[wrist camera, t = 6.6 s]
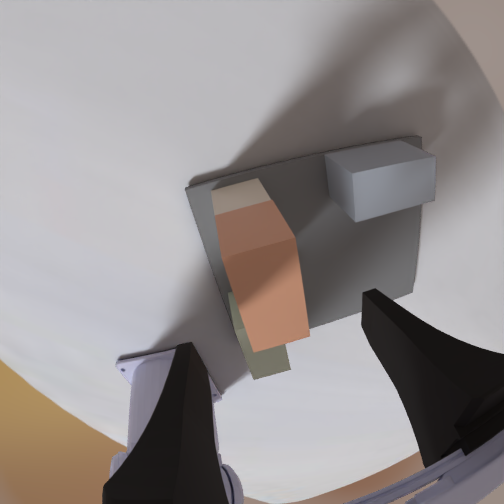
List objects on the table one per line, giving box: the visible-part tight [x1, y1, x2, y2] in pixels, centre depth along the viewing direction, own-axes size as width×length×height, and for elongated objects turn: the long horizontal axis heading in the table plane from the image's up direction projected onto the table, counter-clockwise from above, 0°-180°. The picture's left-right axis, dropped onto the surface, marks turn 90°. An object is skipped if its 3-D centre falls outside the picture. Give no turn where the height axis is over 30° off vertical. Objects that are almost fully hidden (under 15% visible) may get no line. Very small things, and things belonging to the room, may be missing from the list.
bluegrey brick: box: [324, 140, 436, 222], centre depth 18 cm, size 6×3×4 cm, turn 102°
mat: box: [185, 136, 422, 329], centre depth 23 cm, size 15×17×1 cm
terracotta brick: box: [215, 200, 310, 352], centre depth 16 cm, size 6×3×4 cm, turn 12°
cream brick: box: [211, 178, 271, 215], centre depth 19 cm, size 6×3×4 cm, turn 12°
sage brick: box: [228, 291, 291, 380], centre depth 23 cm, size 6×3×4 cm, turn 12°
